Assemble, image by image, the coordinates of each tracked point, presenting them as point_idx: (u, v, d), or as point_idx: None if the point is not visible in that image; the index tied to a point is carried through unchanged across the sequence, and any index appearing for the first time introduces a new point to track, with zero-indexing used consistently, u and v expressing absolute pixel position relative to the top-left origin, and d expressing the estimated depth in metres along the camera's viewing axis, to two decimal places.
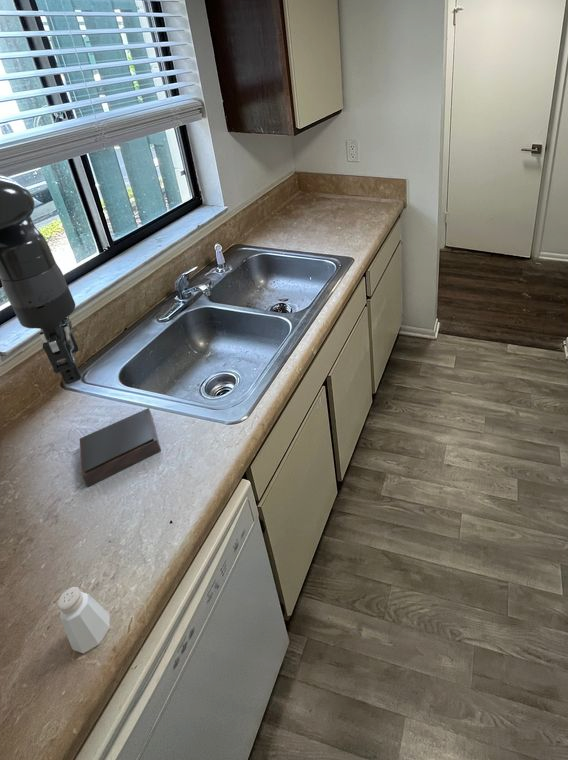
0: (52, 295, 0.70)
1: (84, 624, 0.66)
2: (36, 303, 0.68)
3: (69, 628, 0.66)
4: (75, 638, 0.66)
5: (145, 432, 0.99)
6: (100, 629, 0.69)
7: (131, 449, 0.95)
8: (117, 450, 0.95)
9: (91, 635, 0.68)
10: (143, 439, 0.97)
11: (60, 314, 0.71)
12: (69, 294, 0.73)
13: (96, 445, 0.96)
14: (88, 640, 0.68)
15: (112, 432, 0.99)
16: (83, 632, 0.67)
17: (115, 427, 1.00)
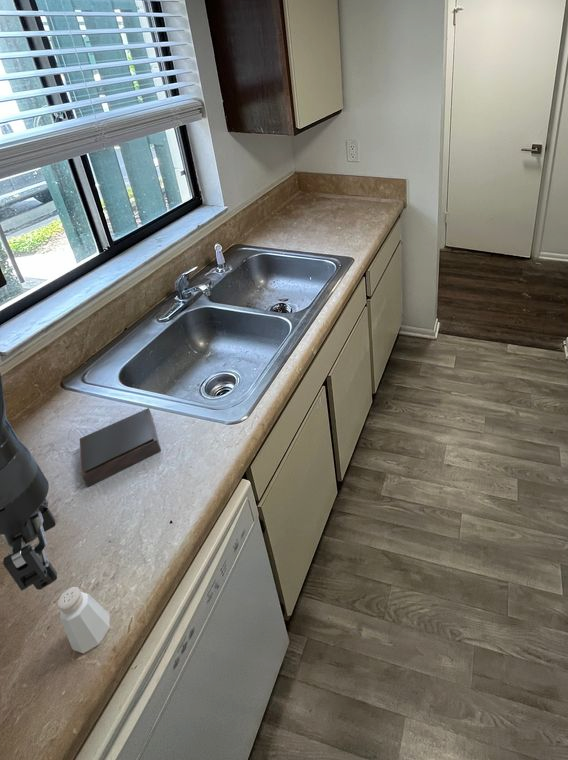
0: (16, 492, 0.53)
1: (84, 624, 0.66)
2: None
3: (69, 628, 0.66)
4: (75, 638, 0.66)
5: (145, 432, 0.99)
6: (100, 629, 0.69)
7: (131, 449, 0.95)
8: (117, 450, 0.95)
9: (91, 635, 0.68)
10: (143, 439, 0.97)
11: (27, 511, 0.55)
12: (40, 478, 0.57)
13: (96, 445, 0.96)
14: (88, 640, 0.68)
15: (112, 432, 0.99)
16: (83, 632, 0.67)
17: (115, 427, 1.00)
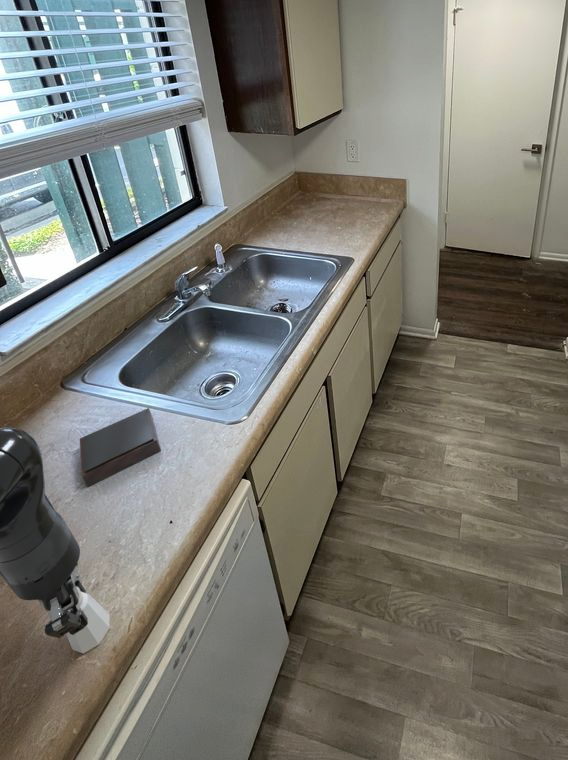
0: (53, 561, 0.58)
1: None
2: (33, 577, 0.57)
3: None
4: (75, 638, 0.66)
5: (145, 432, 0.99)
6: (100, 629, 0.69)
7: (131, 449, 0.95)
8: (117, 450, 0.95)
9: (91, 635, 0.68)
10: (143, 439, 0.97)
11: (62, 577, 0.60)
12: (73, 545, 0.62)
13: (96, 445, 0.96)
14: (88, 640, 0.68)
15: (112, 432, 0.99)
16: (83, 632, 0.67)
17: (115, 427, 1.00)
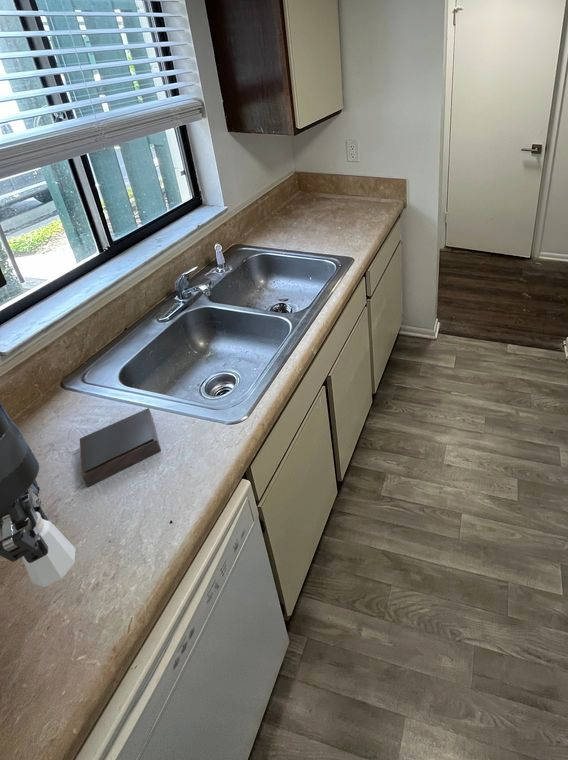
0: (4, 471, 0.52)
1: None
2: None
3: None
4: (34, 569, 0.60)
5: (145, 432, 0.99)
6: (63, 562, 0.62)
7: (131, 449, 0.95)
8: (117, 450, 0.95)
9: (53, 567, 0.61)
10: (143, 439, 0.97)
11: (16, 492, 0.54)
12: (30, 459, 0.55)
13: (96, 445, 0.96)
14: (49, 572, 0.61)
15: (112, 432, 0.99)
16: (43, 562, 0.60)
17: (115, 427, 1.00)
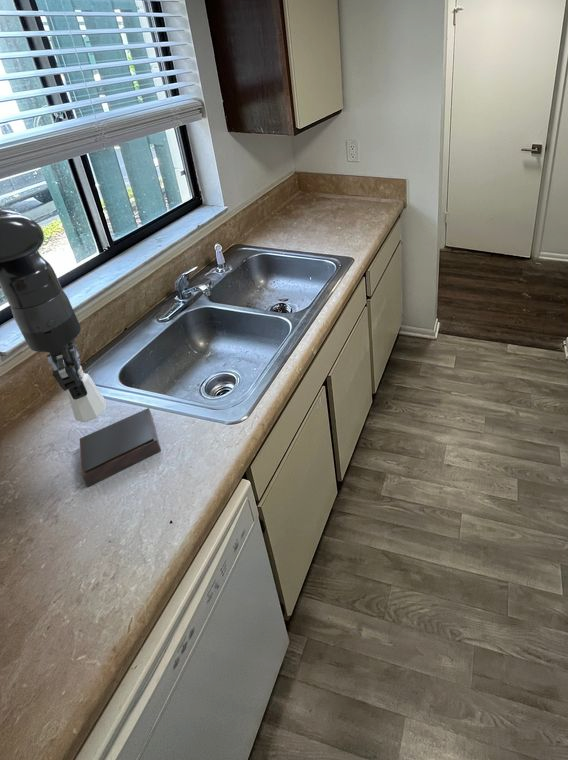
0: (59, 321, 0.74)
1: None
2: (43, 329, 0.72)
3: None
4: (77, 406, 0.82)
5: (145, 432, 0.99)
6: (98, 405, 0.84)
7: (131, 449, 0.95)
8: (117, 450, 0.95)
9: (91, 407, 0.83)
10: (143, 439, 0.97)
11: (66, 338, 0.75)
12: (75, 318, 0.77)
13: (96, 445, 0.96)
14: (88, 411, 0.83)
15: (112, 432, 0.99)
16: (84, 402, 0.82)
17: (115, 427, 1.00)
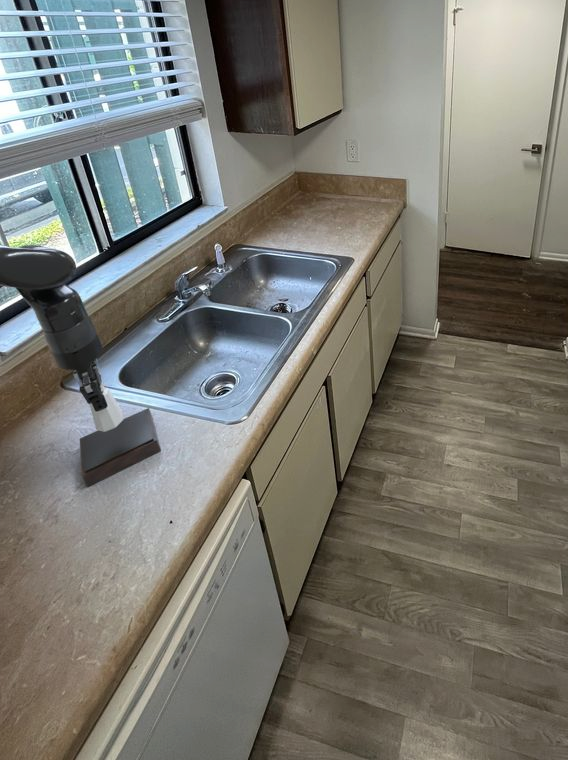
0: (85, 342, 0.83)
1: None
2: (72, 349, 0.82)
3: None
4: (98, 417, 0.91)
5: (145, 432, 0.99)
6: (116, 416, 0.94)
7: (131, 449, 0.95)
8: (117, 450, 0.95)
9: (110, 418, 0.92)
10: (143, 439, 0.97)
11: (91, 357, 0.85)
12: (98, 339, 0.87)
13: (96, 445, 0.96)
14: (108, 421, 0.92)
15: (112, 432, 0.99)
16: (104, 413, 0.91)
17: None
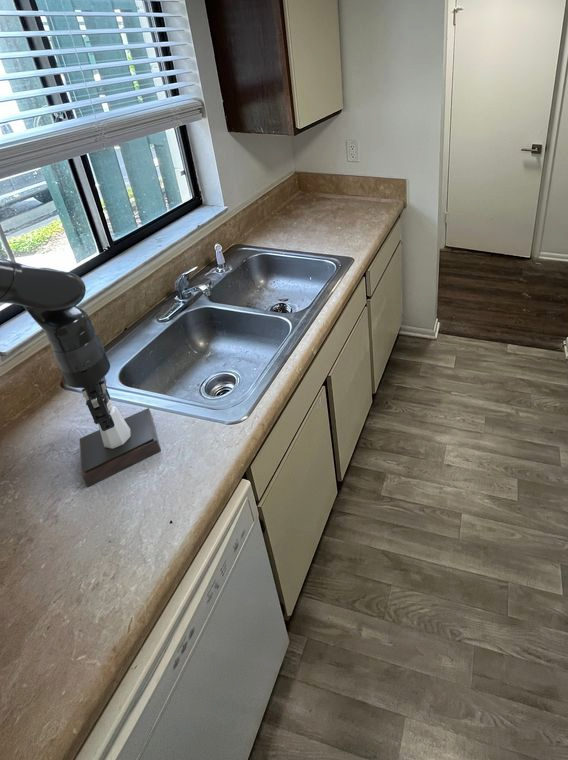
0: (93, 361, 0.85)
1: None
2: (81, 368, 0.84)
3: None
4: (106, 435, 0.94)
5: (145, 432, 0.99)
6: (124, 433, 0.96)
7: (131, 449, 0.95)
8: (117, 450, 0.95)
9: (118, 435, 0.95)
10: (143, 439, 0.97)
11: (99, 375, 0.87)
12: (106, 357, 0.89)
13: (96, 445, 0.96)
14: (115, 438, 0.95)
15: None
16: (112, 431, 0.94)
17: None
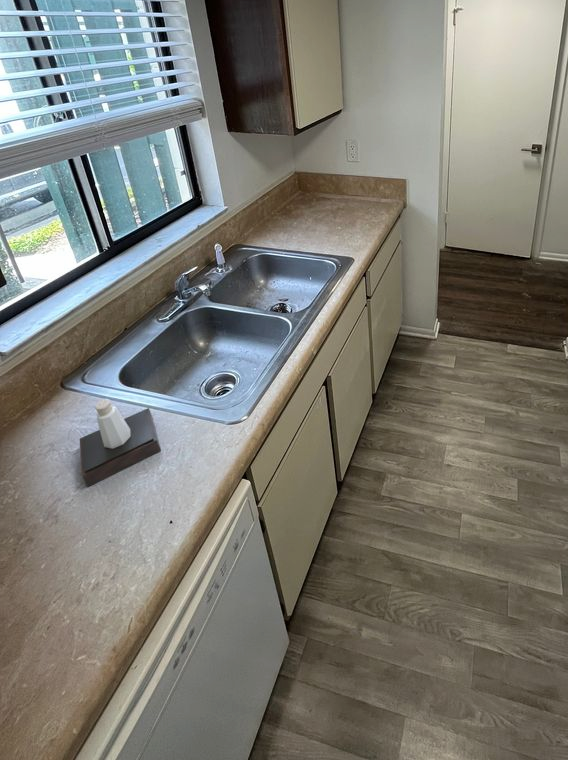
0: None
1: (113, 425, 0.93)
2: None
3: (102, 425, 0.93)
4: (106, 435, 0.94)
5: (145, 432, 0.99)
6: (124, 433, 0.96)
7: (131, 449, 0.95)
8: (117, 450, 0.95)
9: (118, 435, 0.95)
10: (143, 439, 0.97)
11: None
12: None
13: (96, 445, 0.96)
14: (115, 438, 0.95)
15: None
16: (112, 431, 0.94)
17: None
